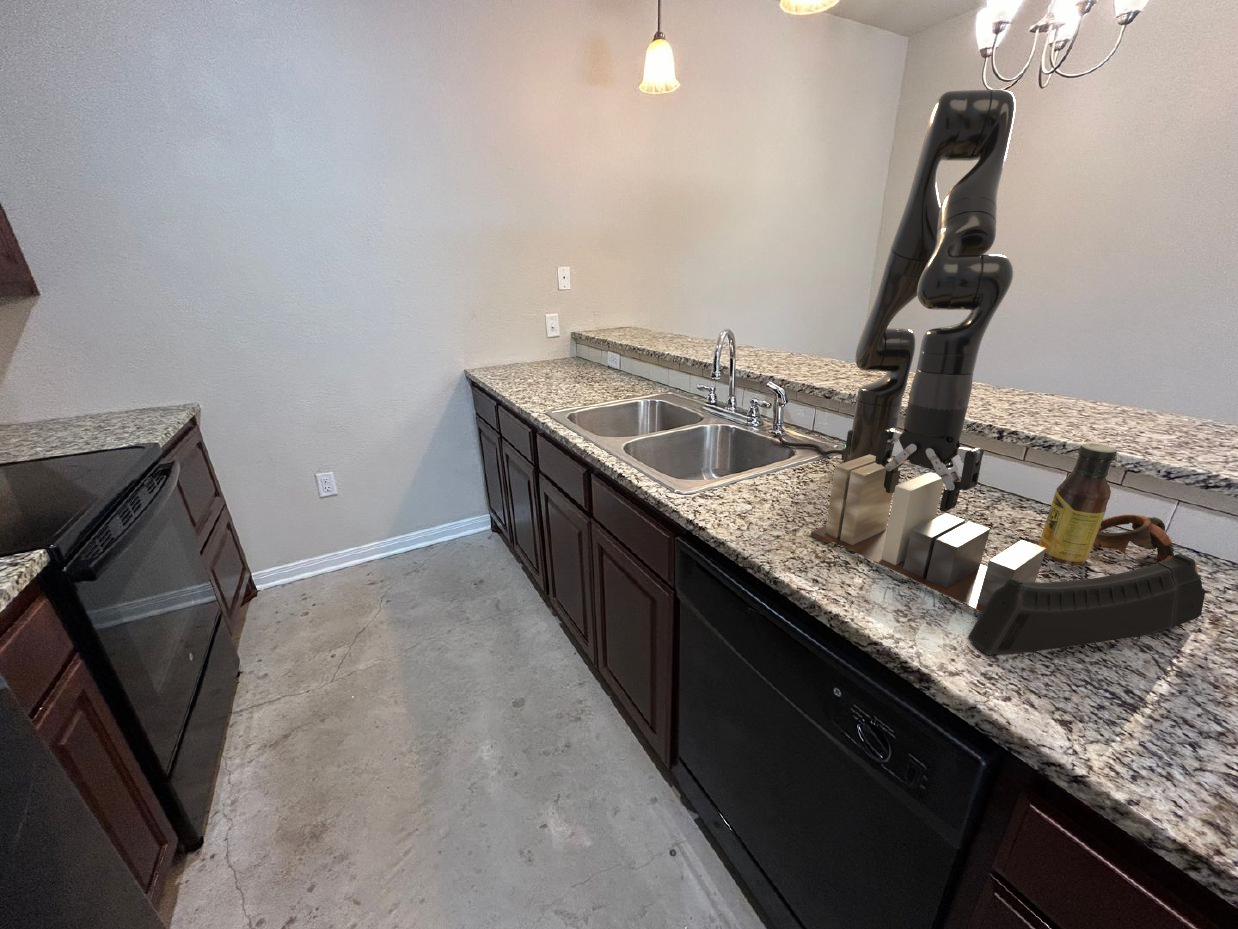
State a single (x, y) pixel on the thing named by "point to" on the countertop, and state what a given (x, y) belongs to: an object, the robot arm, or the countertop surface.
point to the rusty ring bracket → (1136, 535)
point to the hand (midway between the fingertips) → (916, 500)
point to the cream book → (910, 513)
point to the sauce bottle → (1079, 507)
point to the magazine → (1089, 608)
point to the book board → (921, 539)
